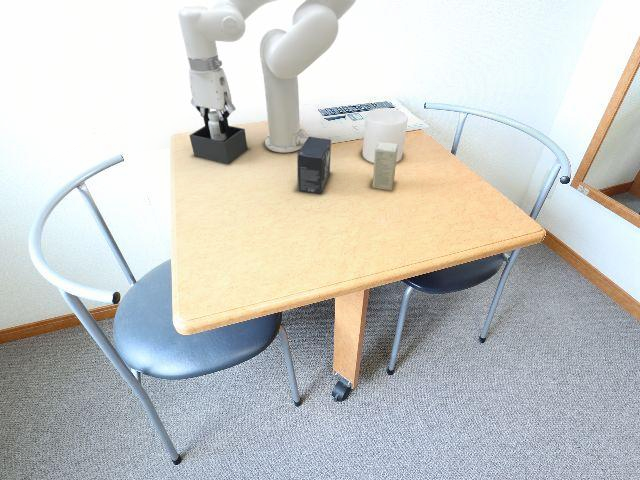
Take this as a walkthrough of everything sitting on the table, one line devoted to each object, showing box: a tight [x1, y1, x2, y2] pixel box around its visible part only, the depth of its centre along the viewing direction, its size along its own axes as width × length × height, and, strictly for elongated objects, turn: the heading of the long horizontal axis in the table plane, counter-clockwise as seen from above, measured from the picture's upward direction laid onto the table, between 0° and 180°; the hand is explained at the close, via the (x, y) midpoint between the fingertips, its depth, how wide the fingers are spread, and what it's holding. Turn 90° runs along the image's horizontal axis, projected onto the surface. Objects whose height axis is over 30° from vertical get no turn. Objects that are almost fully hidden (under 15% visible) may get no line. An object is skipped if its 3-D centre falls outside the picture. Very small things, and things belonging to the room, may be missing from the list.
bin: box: [189, 125, 249, 165], centre depth 109 cm, size 12×10×7 cm
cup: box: [362, 107, 409, 164], centre depth 106 cm, size 12×12×12 cm
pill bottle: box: [208, 110, 227, 141], centre depth 106 cm, size 4×4×8 cm
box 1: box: [296, 136, 332, 195], centre depth 95 cm, size 11×7×10 cm, turn 166°
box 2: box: [372, 142, 398, 191], centre depth 93 cm, size 5×4×11 cm
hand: (217, 129), depth 106 cm, fingers closed on pill bottle, 4 cm apart
